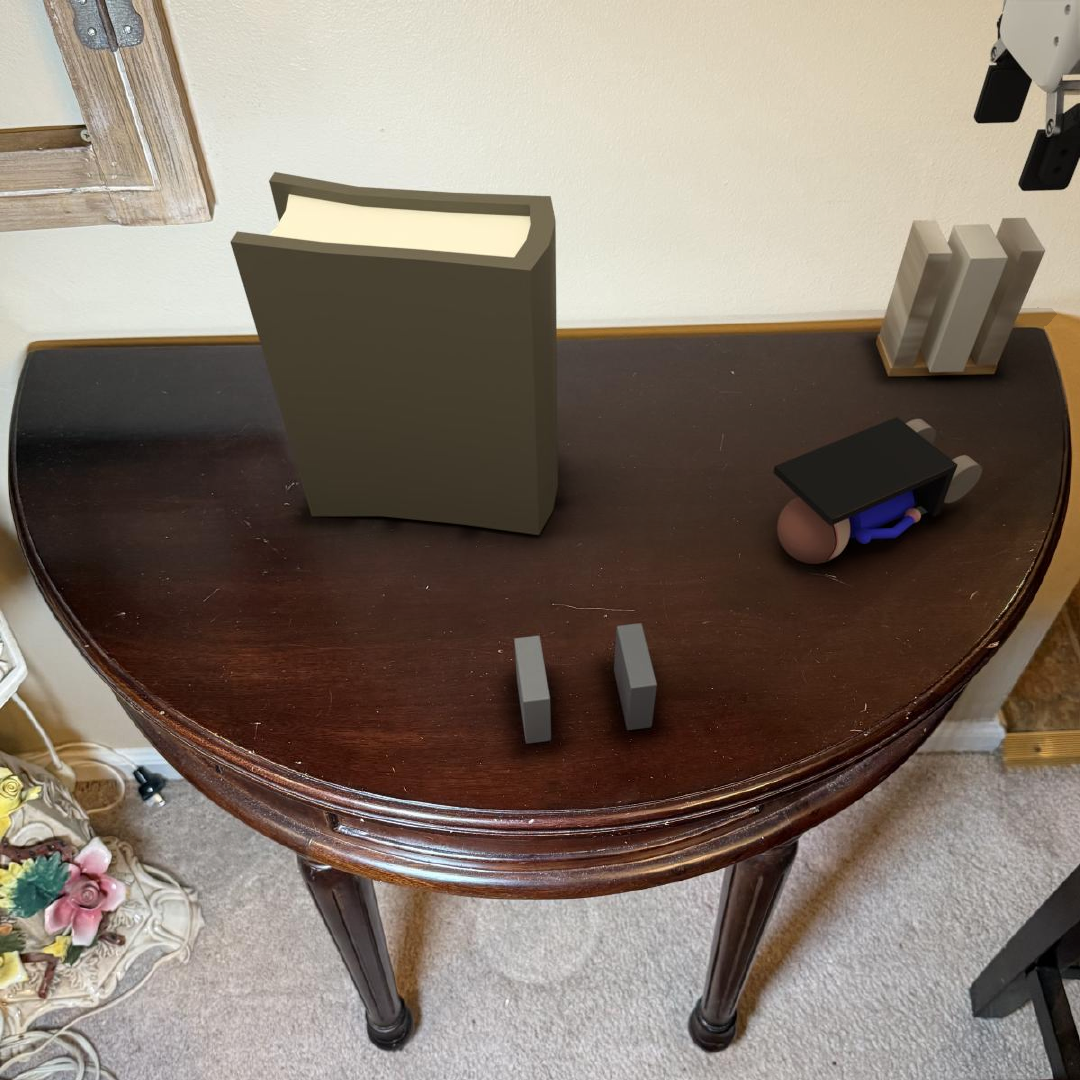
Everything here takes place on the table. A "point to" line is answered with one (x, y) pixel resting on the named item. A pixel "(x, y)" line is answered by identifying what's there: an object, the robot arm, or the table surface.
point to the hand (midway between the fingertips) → (1017, 153)
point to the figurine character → (867, 488)
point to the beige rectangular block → (963, 297)
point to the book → (412, 349)
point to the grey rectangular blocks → (629, 672)
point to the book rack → (923, 284)
